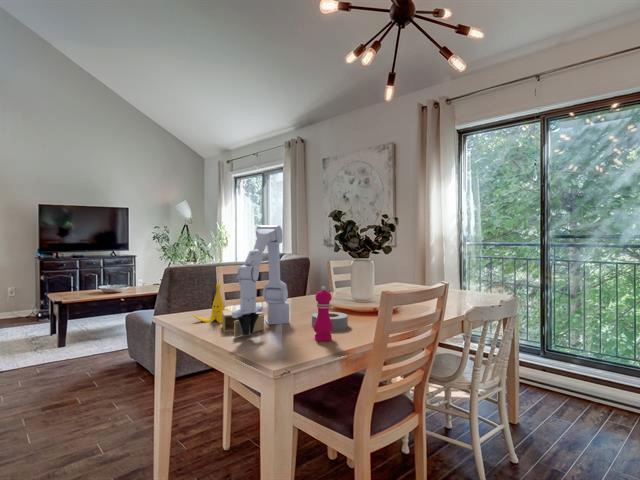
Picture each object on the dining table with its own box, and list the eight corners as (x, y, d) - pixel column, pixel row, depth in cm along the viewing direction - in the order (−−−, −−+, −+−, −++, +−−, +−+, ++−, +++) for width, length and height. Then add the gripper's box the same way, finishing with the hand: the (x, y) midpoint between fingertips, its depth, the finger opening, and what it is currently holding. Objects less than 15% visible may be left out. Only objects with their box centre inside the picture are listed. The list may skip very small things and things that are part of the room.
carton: (260, 323, 170) (260, 308, 170) (263, 329, 161) (263, 313, 160) (222, 326, 165) (222, 310, 165) (223, 331, 156) (223, 315, 156)
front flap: (263, 328, 160) (263, 314, 160) (274, 331, 156) (274, 316, 156) (234, 337, 147) (234, 321, 147) (245, 339, 144) (245, 323, 144)
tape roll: (323, 321, 177) (323, 310, 177) (353, 325, 170) (353, 313, 169) (304, 328, 164) (305, 316, 164) (336, 333, 156) (337, 320, 156)
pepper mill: (316, 342, 142) (316, 287, 141) (311, 337, 149) (311, 285, 148) (335, 341, 144) (335, 287, 143) (329, 336, 151) (329, 284, 150)
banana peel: (233, 324, 169) (234, 286, 169) (192, 323, 171) (192, 284, 171) (245, 316, 185) (246, 281, 185) (207, 315, 188) (207, 280, 188)
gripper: (242, 301, 137) (242, 339, 137) (269, 296, 149) (268, 331, 150) (227, 299, 141) (227, 336, 141) (255, 294, 153) (254, 328, 153)
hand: (247, 333), depth 146 cm, fingers closed
